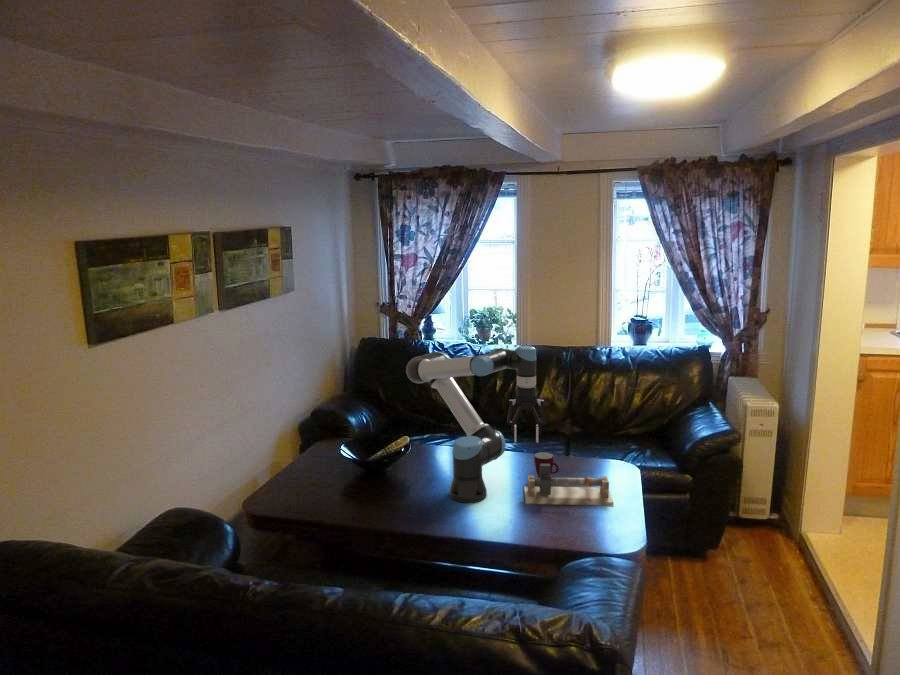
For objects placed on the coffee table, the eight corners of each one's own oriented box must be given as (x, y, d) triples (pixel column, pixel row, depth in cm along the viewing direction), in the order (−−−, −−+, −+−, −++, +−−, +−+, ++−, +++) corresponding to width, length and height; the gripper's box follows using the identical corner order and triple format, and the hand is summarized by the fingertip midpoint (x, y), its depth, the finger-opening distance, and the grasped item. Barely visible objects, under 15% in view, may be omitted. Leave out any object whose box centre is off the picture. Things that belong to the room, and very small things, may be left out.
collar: (540, 494, 251) (540, 468, 249) (539, 486, 259) (539, 461, 257) (550, 494, 251) (550, 468, 249) (549, 486, 259) (549, 461, 257)
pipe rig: (525, 503, 249) (525, 484, 248) (524, 488, 263) (524, 470, 262) (613, 505, 246) (614, 485, 245) (607, 490, 260) (608, 471, 259)
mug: (560, 475, 276) (560, 453, 274) (557, 482, 268) (557, 460, 267) (536, 472, 279) (536, 451, 278) (532, 480, 272) (532, 457, 270)
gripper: (499, 388, 245) (500, 444, 249) (554, 388, 243) (553, 444, 247) (499, 383, 252) (500, 438, 256) (552, 383, 251) (551, 438, 255)
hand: (526, 441), depth 252 cm, fingers open, 8 cm apart
